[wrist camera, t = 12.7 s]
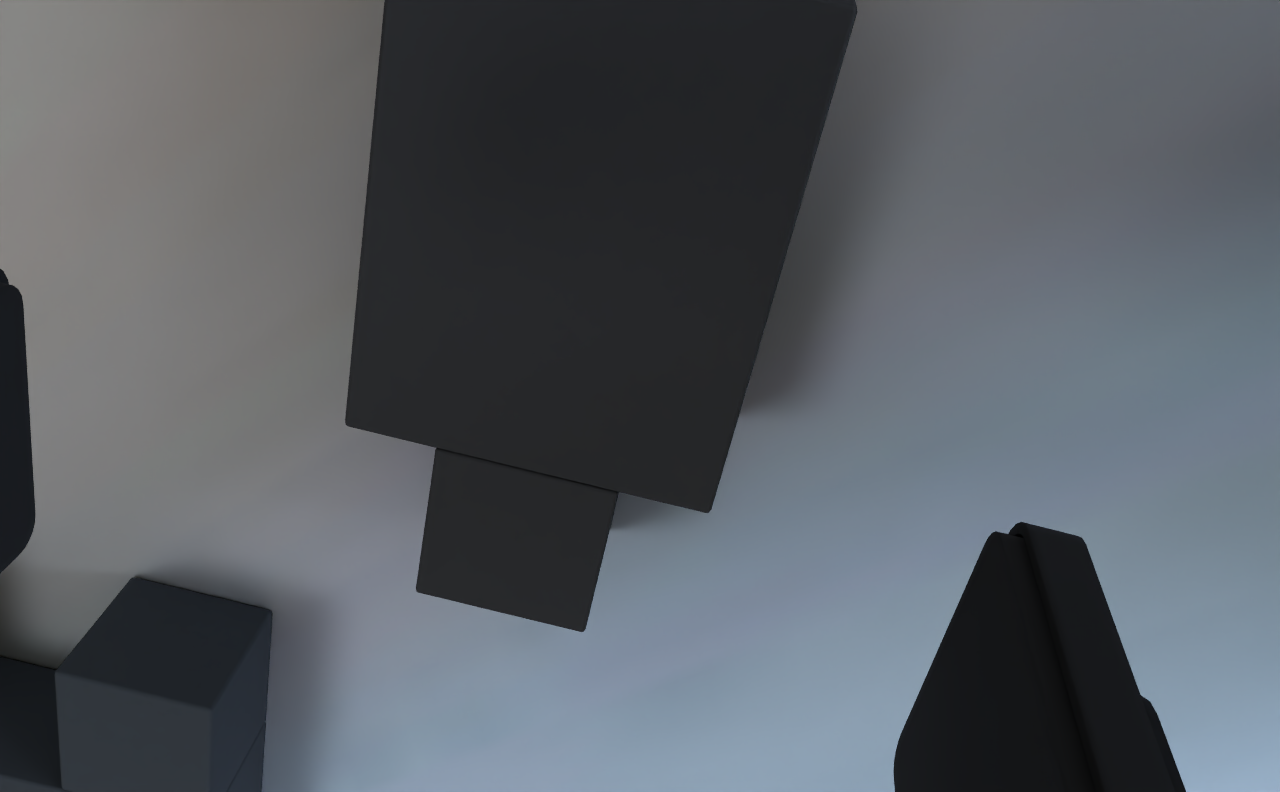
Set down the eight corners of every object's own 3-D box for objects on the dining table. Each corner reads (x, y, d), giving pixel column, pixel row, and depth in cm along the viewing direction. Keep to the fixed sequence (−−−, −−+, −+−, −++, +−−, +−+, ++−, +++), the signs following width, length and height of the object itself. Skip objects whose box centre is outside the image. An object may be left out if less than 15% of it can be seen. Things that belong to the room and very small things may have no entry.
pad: (453, -127, 17) (392, -106, 14) (849, -31, 17) (859, 6, 14) (383, 477, 23) (329, 572, 20) (683, 550, 23) (669, 654, 20)
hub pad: (-186, 498, 25) (-302, 586, 22) (273, 609, 24) (211, 711, 22) (-128, 814, 29) (-218, 916, 27) (255, 906, 29) (202, 1018, 27)
